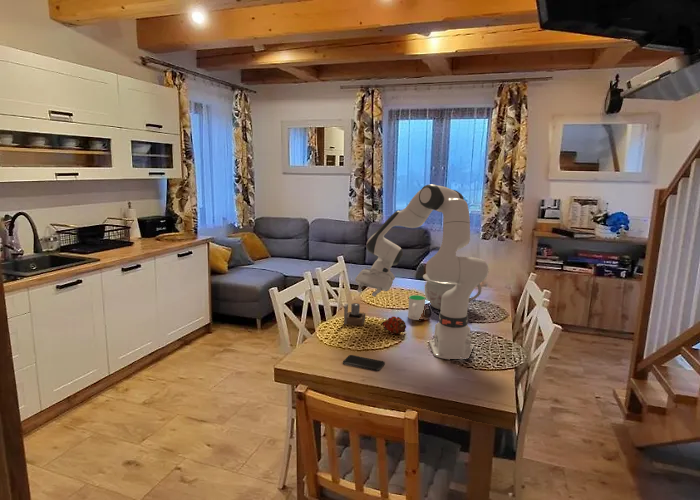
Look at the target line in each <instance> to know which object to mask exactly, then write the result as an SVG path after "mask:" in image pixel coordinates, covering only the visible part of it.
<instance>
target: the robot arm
mask: <svg viewBox="0 0 700 500" xmlns="http://www.w3.org/2000/svg"><path fill="white" fill-rule="evenodd" d="M464 198H465V197H464V195H462V193H461V192H460V191H458V190H455V189H451V188H449V187H447V186H443V185H437V184H435V183H434V184H432V183H431V184H426V185H424V186H423V187H422V188H421V189H420V190H418V191H417V193H416V194H415V195H414V196H413V197H412V198H411V199H410V201H409V202H408V204H407V205H406V207H405V208H403V209H401V210H396V211H395V212H393V213H392V214H391V215H390V217H388V218H387V220H385V221H384V222H383V224H382V225H381V226H380V227H379V228H378V230H377V231H376V232H374V233H373V234H372V235H371V236H370V237H369V238H368V240H367V242H366V244H365V246H366V249H367V252H369V253H370V254H373V255H374V256H377V259H376V260H375V261H374V263H373V264H372V266H371V268H366V267H365V268H363V269H362V270H361V271H360V272H359V273H358V274H357V276H355V278H354V280H355V283H356V284H357V285H358V288H357V292H358V293H360V294H361V293H362V291H363V289H362V288H363V287H364V286H365V287H368V288H371V289H375V291H372V293H371V296H372V297H376V296H377V294H378V295H379V294H380V293H381V292H382V291H383V292H388V291H389V290H390V289H391V287H392V286H393V283H394V282H393V281H395V278H396V277H395V275H394V273H393V272H392V271H391V268H392V266H393V267H394V266H397V265H398V264H399V263H400V260H401V258H402V257H403V255H404V251H403V248H401V246H399V245H397V244H396V243H394V242H393V241H392V240H389V239H387V238H386V237H385V235H386V234H387V233H388V232H389V231H390V229H392V228H394V227H396V226H397V227H403V228H407V229H408V228H410V229H416V228H420V227H422V225H424V224H425V222H426V221H427V220H428V218H429V216H430V215H431V214H432V212H433V211H437V212H439V213H441V214H442V217H443V218H442V242H441V245H440V247H439V250H438V251H437V252H436V253H435V254H434V255H433V256H432V257H430V258H429V260H428V261H427V262H426V264H425V274H427V276H428V278H429V279H430V280H432V281H437V282H445V283H456V285H455V286H454V287H453V288H452V289H450V290H448V291H446V292H445V293H444V294H443V295H442V298H441V310H440V312H439V314H438V322H437V323H435V324H434V334H433V339H429V341H428V342H429V346H430V348H431V352H432V354H433V356H434V357H436V358H440V359H443V360H444V359H445V360H450V359H463V358H469V356H470V354H471V355H472V353H473V351H472V349H473V347H474V348H475V345H474V344H473V343H472V339H471V337H472V333H471V327H470V326H469V325H468V322H469V315H468V309H469V303H470V302H469V298H471V295H472V294H473V291H474V290H475V289H476V288H477V287H478V286H477V285H478V284H480V285H481V284H482V283H483V282H484V281H485V280H486V279H487V277H488V276H489V266H488V263H487V261H486V260H485V259H483V258H480V257H479V258H478V257H475V256H457V252H458V251H459V250H461V249H463V248H465V247H466V246H468V244H469V243H470V241H471V219H470V218H471V217H470V210H469V206H468V203H467V201H466V200H465V199H464ZM468 302H469V303H468ZM470 346H472V347H470ZM473 350H474V349H473ZM471 352H472V353H471ZM460 357H463V358H460ZM470 357H471V356H470ZM469 359H470V358H469Z"/></svg>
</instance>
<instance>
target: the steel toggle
mask: <svg viewBox="0 0 700 500" xmlns="http://www.w3.org/2000/svg"><path fill="white" fill-rule="evenodd" d="M350 308H351V309H350V310H351V311H350V312H351V317H355V318H359V313H360V310H361V309H360V308H361V305H360V303H355V302H354V303H351V307H350Z"/></svg>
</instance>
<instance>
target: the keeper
mask: <svg viewBox="0 0 700 500" xmlns="http://www.w3.org/2000/svg"><path fill="white" fill-rule="evenodd" d="M343 309H344V311H343V312H344V313H343V317H344V318H343V325H345V324H350V325H349V326H357V325H360V326H359V327H362V326H363V325H364V323H365V321H366V312H363V313H362V312H359V318H355V317H351V311H349V303H344V305H343Z"/></svg>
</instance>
